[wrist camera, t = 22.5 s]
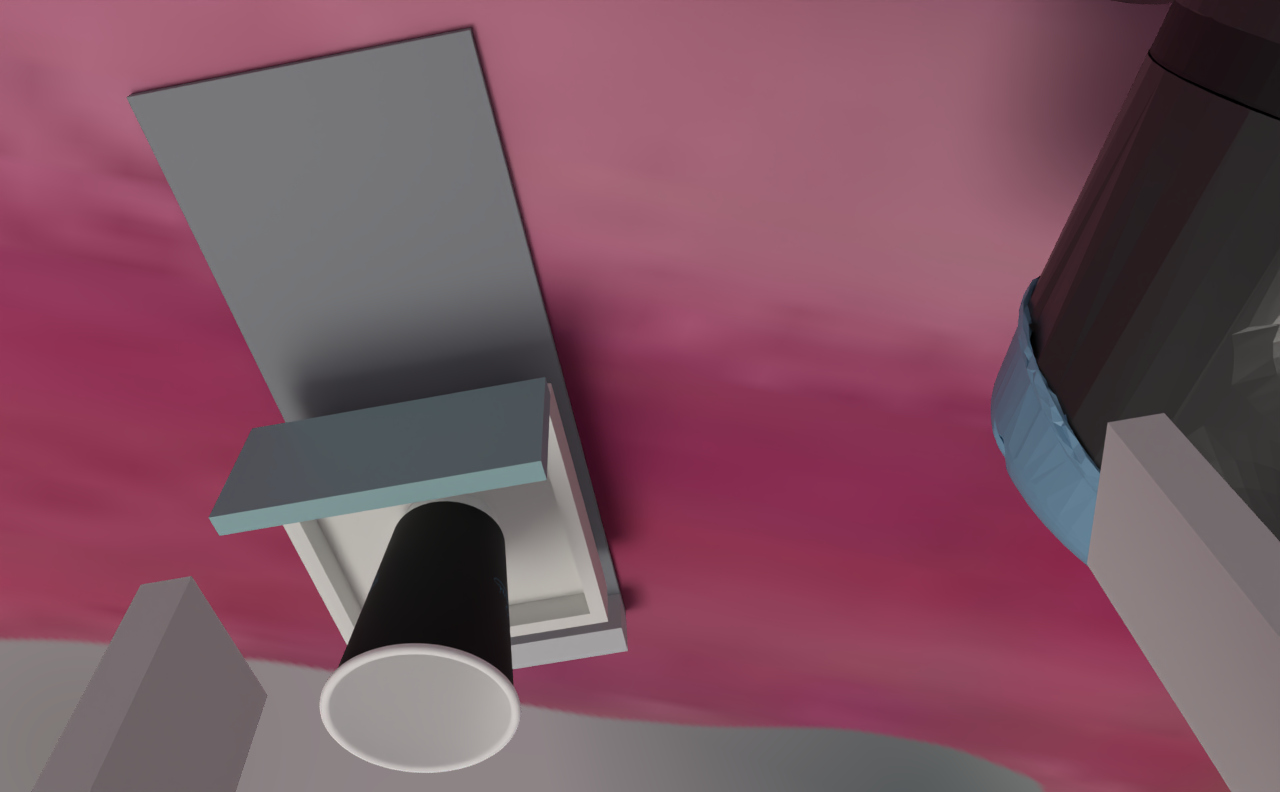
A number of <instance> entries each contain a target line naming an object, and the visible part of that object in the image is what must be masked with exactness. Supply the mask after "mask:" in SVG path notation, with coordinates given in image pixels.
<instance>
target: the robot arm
mask: <svg viewBox="0 0 1280 792" xmlns="http://www.w3.org/2000/svg"><path fill="white" fill-rule="evenodd" d="M1112 1H1118V2H1125V3H1136V4H1166V3H1172V5H1171V7H1170V9H1169V11H1168V13H1167V15H1166V17H1165V19H1164V22H1163V24H1162V26H1161V28H1160V30H1159V32H1158V34H1157V36H1156V38H1155V40H1154V43H1153V45H1152V47H1151V48H1150V49H1149V51H1148V53H1147V56H1146V58H1145V60H1144V62H1143V64H1142V66H1141V68H1140V71H1139V73H1138V75H1137V77H1136V79H1135V81H1134V83H1133V85H1132V87H1131V89H1130V91H1129V93H1128V95H1127V98H1126V100H1125V102H1124V104H1123V106H1122V108H1121V110H1120V112H1119V114H1118V116H1117V118H1116V120H1115V122H1114V125H1113V127H1112V129H1111V131H1110V133H1109V135H1108V137H1107V139H1106V141H1105V143H1104V145H1103V147H1102V149H1101V152H1100V154H1099V156H1098V158H1097V160H1096V162H1095V164H1094V166H1093V168H1092V170H1091V172H1090V174H1089V176H1088V179H1087V181H1086V183H1085V185H1084V187H1083V189H1082V191H1081V193H1080V195H1079V197H1078V199H1077V201H1076V203H1075V205H1074V208H1073V210H1072V212H1071V214H1070V216H1069V218H1068V220H1067V222H1066V224H1065V226H1064V228H1063V230H1062V232H1061V235H1060V237H1059V239H1058V241H1057V243H1056V245H1055V247H1054V249H1053V251H1052V253H1051V255H1050V257H1049V259H1048V262H1047V264H1046V266H1045V268H1044V270H1043V272H1042V274H1041V276H1039V277H1038V278H1036V279H1034V280H1032V282H1031V284H1030V285H1029V287H1028V288H1027V290H1026V292H1025V294H1024V296H1023V299H1022V302H1021V305H1020V309H1019V320H1018V327H1017V329H1016V332H1015V334H1014V337H1013V339H1012V341H1011V344H1010V346H1009V349H1008V351H1007V354H1006V356H1005V358H1004V361H1003V363H1002V366H1001V368H1000V371H999V373H998V375H997V378H996V381H995V384H994V388H993V392H992V399H991V423H992V429H993V434H994V436H995V439H996V442H997V445H998V447H999V449H1000V451H1001V452H1002V454H1003V455H1004V457H1005V460H1006V469H1007V471H1008V474H1009V476H1010V477H1011V479H1012V481H1013V483H1014V484H1015V486H1016V487H1017V489H1018V491H1019V492H1020V493H1021V495H1022V496H1023V498H1024V499H1025V501H1026V502H1027V504H1028V505H1029V506H1030V508H1031V509H1032V510H1033V511H1034V513H1035V514H1036V515H1037V516H1038V518H1039V519H1040V520H1041V521H1042V522H1043V523H1044V525H1045V526H1046V527H1047V528H1048V529H1049V530H1050V531H1051V532H1052V533H1053V534H1054V535H1055V536H1056V537H1057V538H1058V539H1059V540H1060V541H1061V542H1062V543H1063V544H1064V545H1065V546H1066V547H1067V548H1068V549H1069V550H1070V551H1071V552H1072V553H1073V554H1074V555H1076V556H1077V557H1078V558H1079V559H1080V560H1081V561H1083V562H1084V563H1085V564H1086V565H1087V566H1089V568H1090V569H1091V571H1092V573H1093V574H1094V576H1095V577H1096V579H1097V581H1098V582H1099V584H1100V585H1101V587H1102V588H1103V590H1104V592H1105V593H1106V595H1107V596H1108V598H1109V599H1110V601H1111V603H1112V604H1113V606H1114V607H1115V609H1116V611H1117V612H1118V614H1119V615H1120V617H1121V618H1122V620H1123V622H1124V623H1125V625H1126V626H1127V628H1128V629H1129V631H1130V633H1131V634H1132V636H1133V637H1134V639H1135V641H1136V642H1137V644H1138V645H1139V647H1140V648H1141V650H1142V652H1143V653H1144V655H1145V656H1146V658H1147V659H1148V661H1149V663H1150V664H1151V666H1152V667H1153V669H1154V670H1155V672H1156V674H1157V675H1158V677H1159V678H1160V680H1161V682H1162V683H1163V685H1164V686H1165V688H1166V689H1167V691H1168V693H1169V694H1170V696H1171V697H1172V699H1173V700H1174V702H1175V704H1176V705H1177V707H1178V708H1179V710H1180V712H1181V713H1182V715H1183V716H1184V718H1185V719H1186V721H1187V723H1188V724H1189V726H1190V727H1191V729H1192V730H1193V732H1194V734H1195V735H1196V737H1197V738H1198V740H1199V742H1200V743H1201V745H1202V746H1203V748H1204V749H1205V751H1206V753H1207V754H1208V756H1209V757H1210V759H1211V760H1212V762H1213V764H1214V765H1215V767H1216V768H1217V770H1218V771H1219V773H1220V775H1221V776H1222V778H1223V779H1224V781H1225V783H1226V784H1227V786H1228V787H1229V789H1230V790H1231V792H1280V0H1112ZM266 698H267V694H266V692H265V691H264V689H263V687H262V686H261V684H260V683H259V681H258V680H257V678H256V676H255V675H254V673H253V672H252V670H251V669H250V667H249V665H248V664H247V662H246V661H245V659H244V658H243V656H242V654H241V653H240V651H239V650H238V648H237V647H236V645H235V644H234V642H233V640H232V639H231V637H230V636H229V634H228V633H227V631H226V629H225V628H224V626H223V625H222V623H221V622H220V620H219V618H218V617H217V615H216V614H215V612H214V611H213V609H212V607H211V606H210V604H209V603H208V601H207V600H206V598H205V597H204V595H203V593H202V592H201V590H200V589H199V587H198V586H197V584H196V582H195V581H194V579H193V578H192V576H190V577H184V578H178V579H172V580H167V581H161V582H155V583H149V584H143V585H141V586H140V588H139V589H138V591H137V593H136V595H135V597H134V599H133V601H132V603H131V605H130V606H129V608H128V610H127V612H126V614H125V616H124V618H123V620H122V621H121V623H120V625H119V627H118V629H117V631H116V633H115V635H114V637H113V638H112V640H111V642H110V644H109V646H108V648H107V650H106V652H105V654H104V655H103V657H102V659H101V661H100V663H99V665H98V667H97V669H96V670H95V672H94V674H93V676H92V678H91V680H90V682H89V684H88V686H87V687H86V690H85V691H84V693H83V695H82V697H81V699H80V701H79V703H78V704H77V706H76V708H75V710H74V712H73V714H72V716H71V718H70V720H69V721H68V723H67V725H66V727H65V729H64V731H63V733H62V735H61V736H60V738H59V740H58V742H57V744H56V746H55V748H54V750H53V752H52V753H51V755H50V757H49V759H48V761H47V763H46V765H45V767H44V768H43V770H42V772H41V774H40V776H39V778H38V780H37V782H36V784H35V785H34V788H33V789H32V791H31V792H235V791H236V788H237V785H238V782H239V779H240V776H241V773H242V770H243V767H244V764H245V761H246V758H247V755H248V752H249V749H250V746H251V743H252V740H253V737H254V734H255V731H256V728H257V725H258V722H259V719H260V716H261V713H262V710H263V707H264V704H265V701H266Z"/></svg>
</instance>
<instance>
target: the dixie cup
mask: <svg viewBox="0 0 1280 792" xmlns="http://www.w3.org/2000/svg"><path fill="white" fill-rule="evenodd" d="M320 714H321V718H322V721H323V723H324V726H325V727H326V729H327V730H328V732H329V733H330V735H331V736H332V737H333V738H334V739H335V740H336V741H337V742H338V743H339V744H340V745H341V746H342V747H344V748H345V749H346V750H348V751H349V752H350V753H352V754H354V755H356V756H357V757H359V758H361V759H363V760H365V761H367V762H370V763H372V764H375V765H378V766H381V767H385V768H389V769H393V770H398V771H406V772H416V773H435V772H445V771H452V770H457V769H461V768H465V767H468V766H471V765H474V764H476V763H479V762H481V761H483V760H485V759H487V758H489V757H491V756H492V755H494V754H496V753H497V752H498V751H500V750H501V749H502V748H503V747H505V745H506V744H507V743H508V742H509V741H510V740H511V739H512V737H513V736H514V734H515V732H516V730H517V728H518V725H519V722H520V718H521V705H520V701H519V697H518V694H517V692H516V690H515V688H514V686H513V669H512V652H511V635H510V618H509V601H508V584H507V567H506V550H505V539H504V535H503V533H502V530H501V528H500V525H499V521H498V518H497V516H496V514H495V513H494V511H493V510H492V509H491V508H490V507H489V506H488V505H487V504H486V503H484V502H483V501H482V500H480V499H478V498H476V497H474V496H471V495H469V494H462V495H456V496H450V497H444V498H438V499H432V500H427V501H421V502H415V503H413V504H412V505H411V506H410V507H409V509H408V510H407V512H406V514H405V515H404V516H403V517H402V518H401V519H400V521H399V522H398V523H397V525H396V527H395V529H394V532H393V534H392V537H391V539H390V541H389V544H388V546H387V549H386V551H385V554H384V556H383V559H382V561H381V564H380V566H379V569H378V571H377V573H376V576H375V578H374V581H373V583H372V586H371V588H370V591H369V593H368V596H367V598H366V600H365V603H364V605H363V608H362V610H361V613H360V615H359V618H358V620H357V623H356V625H355V627H354V630H353V632H352V635H351V637H350V640H349V642H348V645H347V647H346V650H345V652H344V655H343V657H342V659H341V662H340V664H339V667H338V668H337V669H336V670H335V671H334V672H333V673H332V675H331V676H330V677H329V679H328V680H327V681H326V684H325V685H324V687H323V689H322V692H321V696H320Z"/></svg>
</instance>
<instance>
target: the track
mask: <svg viewBox="0 0 1280 792" xmlns="http://www.w3.org/2000/svg"><path fill="white" fill-rule="evenodd" d="M127 99H128V101H129V103H130V106H131V108H132V110H133V112H134V114H135V116H136V118H137V120H138V122H139V124H140V126H141V128H142V130H143V132H144V134H145V136H146V138H147V140H148V142H149V144H150V146H151V148H152V150H153V152H154V155H155V157H156V159H157V161H158V163H159V165H160V167H161V169H162V171H163V173H164V175H165V177H166V179H167V181H168V183H169V185H170V187H171V189H172V191H173V193H174V195H175V197H176V199H177V201H178V204H179V206H180V208H181V210H182V212H183V214H184V216H185V218H186V220H187V222H188V224H189V226H190V228H191V230H192V232H193V234H194V236H195V238H196V240H197V242H198V244H199V246H200V248H201V251H202V253H203V255H204V257H205V259H206V261H207V263H208V265H209V267H210V269H211V271H212V273H213V275H214V277H215V279H216V281H217V283H218V285H219V287H220V289H221V291H222V293H223V295H224V297H225V300H226V302H227V304H228V306H229V308H230V310H231V312H232V314H233V316H234V318H235V320H236V322H237V324H238V326H239V328H240V330H241V332H242V334H243V336H244V338H245V340H246V342H247V344H248V347H249V349H250V351H251V353H252V355H253V357H254V359H255V361H256V363H257V365H258V367H259V369H260V371H261V373H262V375H263V377H264V379H265V381H266V383H267V385H268V387H269V389H270V391H271V393H272V396H273V398H274V400H275V402H276V404H277V406H278V408H279V410H280V412H281V414H282V416H283V418H284V420H285V422H286V423H287V422H293V421H298V420H304V419H310V418H315V417H321V416H327V415H332V414H338V413H344V412H349V411H355V410H361V409H366V408H372V407H378V406H384V405H389V404H395V403H401V402H406V401H412V400H418V399H423V398H429V397H435V396H440V395H446V394H452V393H457V392H463V391H469V390H475V389H480V388H486V387H492V386H497V385H503V384H509V383H514V382H520V381H526V380H531V379H537V378H543V377H546V381H547V383H551V385H552V388H553V392H554V396H555V399H556V403H557V406H558V410H559V414H560V417H561V421H562V425H563V428H564V432H565V435H566V439H567V443H568V446H569V450H570V454H571V457H572V461H573V465H574V468H575V472H576V475H577V479H578V483H579V486H580V490H581V494H582V497H583V501H584V504H585V508H586V512H587V515H588V519H589V523H590V526H591V530H592V533H593V537H594V541H595V544H596V548H597V552H598V555H599V559H600V562H601V566H602V570H603V573H604V577H605V581H606V584H607V599H608V622H602V623H596V624H590V625H584V626H577V627H571V628H565V629H559V630H553V631H546V632H540V633H534V634H528V635H522V636H515V637H511V652H512V669H517V668H523V667H530V666H536V665H542V664H549V663H555V662H561V661H567V660H574V659H580V658H586V657H592V656H599V655H605V654H611V653H618V652H624V651H628V645H627V627H626V611H625V607H624V603H623V600H622V596H621V592H620V588H619V585H618V581H617V577H616V573H615V569H614V566H613V562H612V558H611V554H610V551H609V547H608V543H607V539H606V535H605V532H604V528H603V524H602V520H601V517H600V513H599V509H598V505H597V501H596V498H595V494H594V490H593V486H592V483H591V479H590V475H589V471H588V468H587V464H586V460H585V456H584V452H583V449H582V445H581V441H580V437H579V434H578V430H577V426H576V422H575V418H574V415H573V411H572V407H571V403H570V400H569V396H568V392H567V388H566V385H565V381H564V377H563V373H562V369H561V366H560V362H559V358H558V354H557V351H556V347H555V343H554V339H553V335H552V332H551V328H550V324H549V320H548V317H547V313H546V309H545V305H544V301H543V298H542V294H541V290H540V286H539V283H538V279H537V275H536V271H535V268H534V264H533V260H532V256H531V252H530V249H529V245H528V241H527V237H526V234H525V230H524V226H523V222H522V218H521V215H520V211H519V207H518V203H517V200H516V196H515V192H514V188H513V184H512V181H511V177H510V173H509V169H508V166H507V162H506V158H505V154H504V151H503V147H502V143H501V139H500V135H499V132H498V128H497V124H496V120H495V117H494V113H493V109H492V105H491V101H490V98H489V94H488V90H487V86H486V83H485V79H484V75H483V71H482V67H481V64H480V60H479V56H478V52H477V49H476V45H475V41H474V37H473V34H472V30H471V28H466V29H461V30H456V31H451V32H446V33H441V34H436V35H431V36H425V37H420V38H415V39H410V40H405V41H400V42H395V43H390V44H385V45H380V46H375V47H370V48H364V49H359V50H354V51H349V52H344V53H339V54H334V55H329V56H324V57H319V58H314V59H308V60H303V61H298V62H293V63H288V64H283V65H278V66H273V67H268V68H263V69H258V70H253V71H247V72H242V73H237V74H232V75H227V76H222V77H217V78H212V79H207V80H202V81H197V82H192V83H186V84H181V85H176V86H171V87H166V88H161V89H156V90H151V91H146V92H141V93H136V94H131V95H129V96H128V97H127Z"/></svg>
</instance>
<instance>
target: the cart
mask: <svg viewBox="0 0 1280 792" xmlns="http://www.w3.org/2000/svg"><path fill="white" fill-rule="evenodd" d="M462 494H469V495H471V496H474V497H476V498H478V499H480V500H482V501H483V502H484V503H486V504H487V505H488V506H489V507H490V508H491V509H492V510H493V511H494V513H495V514H496V516H497V518H498V521H499V525H500V528H501V530H502V533H503V535H504V539H505V550H506V567H507V584H508V601H509V618H510V635H511V637H515V636H522V635H528V634H534V633H540V632H546V631H553V630H559V629H565V628H571V627H577V626H584V625H590V624H596V623H602V622H608V599H607V584H606V581H605V577H604V573H603V570H602V566H601V562H600V559H599V555H598V552H597V548H596V544H595V541H594V537H593V533H592V530H591V526H590V523H589V519H588V515H587V512H586V508H585V504H584V501H583V497H582V494H581V490H580V486H579V483H578V479H577V475H576V472H575V468H574V465H573V461H572V457H571V454H570V450H569V446H568V443H567V439H566V435H565V432H564V428H563V425H562V421H561V417H560V414H559V410H558V406H557V403H556V399H555V396H554V392H553V388H552V385H551V383H547V381H546V377H543V378H537V379H531V380H526V381H520V382H514V383H509V384H503V385H497V386H492V387H486V388H480V389H475V390H469V391H463V392H457V393H452V394H446V395H440V396H435V397H429V398H423V399H418V400H412V401H406V402H401V403H395V404H389V405H384V406H378V407H372V408H366V409H361V410H355V411H349V412H344V413H338V414H332V415H327V416H321V417H315V418H310V419H304V420H298V421H293V422H287V423H281V424H276V425H270V426H264V427H258V428H253V429H252V430H251V432H250V434H249V436H248V438H247V440H246V442H245V444H244V446H243V448H242V450H241V453H240V455H239V457H238V459H237V461H236V463H235V465H234V467H233V469H232V471H231V473H230V475H229V477H228V479H227V481H226V483H225V485H224V487H223V489H222V491H221V494H220V496H219V498H218V500H217V502H216V504H215V506H214V508H213V510H212V512H211V514H210V516H209V519H210V521H211V522H212V524H213V526H214V528H215V529H216V531H217V533H218V534H219V536H221V535H227V534H232V533H238V532H244V531H250V530H256V529H262V528H268V527H274V526H280V525H283V526H284V528H285V530H286V532H287V533H288V535H289V537H290V539H291V541H292V543H293V545H294V547H295V548H296V550H297V552H298V554H299V556H300V558H301V560H302V562H303V563H304V565H305V567H306V569H307V571H308V573H309V575H310V577H311V578H312V580H313V582H314V584H315V586H316V588H317V590H318V591H319V593H320V595H321V597H322V599H323V601H324V603H325V605H326V606H327V608H328V610H329V612H330V614H331V616H332V618H333V620H334V621H335V623H336V625H337V627H338V629H339V631H340V633H341V635H342V636H343V638H344V640H345V642H346V644H347V645H348V642H349V640H350V637H351V635H352V632H353V630H354V627H355V625H356V623H357V620H358V618H359V615H360V613H361V610H362V608H363V605H364V603H365V600H366V598H367V596H368V593H369V591H370V588H371V586H372V583H373V581H374V578H375V576H376V573H377V571H378V569H379V566H380V564H381V561H382V559H383V556H384V554H385V551H386V549H387V546H388V544H389V541H390V539H391V537H392V534H393V532H394V529H395V527H396V525H397V523H398V522H399V521H400V519H401V518H402V517H403V516H404V515H405V514H406V512H407V510H408V509H409V507H410V506H411V505H412V504H413V503H415V502H421V501H427V500H432V499H438V498H444V497H450V496H456V495H462Z"/></svg>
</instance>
